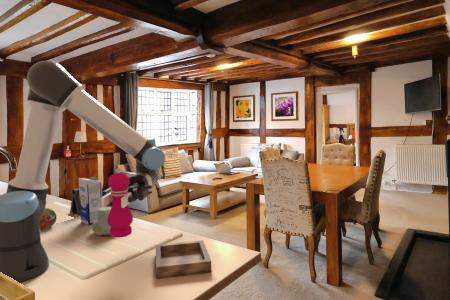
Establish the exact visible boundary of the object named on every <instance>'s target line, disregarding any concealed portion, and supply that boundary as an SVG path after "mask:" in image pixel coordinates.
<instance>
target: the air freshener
mask: <svg viewBox="0 0 450 300" xmlns="http://www.w3.org/2000/svg"><path fill="white" fill-rule="evenodd" d="M111 208H112V206H105V207H102V208H99V209H98V219H97V220H96V221H94V222H93V224H92V225H91V231H92V232H93V233H94V234H96V235H99V236H101V235H102V236H103V235H104V236H110V228H111V227H110V226H109V224H108V222H107V221H108V215H109V213H110V210H111ZM102 236H101V237H102ZM104 236H103V237H104Z"/></svg>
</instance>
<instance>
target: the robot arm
mask: <svg viewBox="0 0 450 300" xmlns="http://www.w3.org/2000/svg"><path fill="white" fill-rule="evenodd" d="M26 79H27V80H26V81H27V85H28V87H29V90H28V94H27V99H26V102H27V103H28V104H29V105H30V111H29V115H28V120H27V124H26V129H25V132H24V137H23V142H22V147H21V150H20V154H19V155H20V156H19V159H18V163H17V169H16V173H15V177H14V178H13V179H11V180H10V181H8V184H7V188H6V192H5V193H3V194H0V272H2V273H3V274H5V275H7V276H9V277H11V278H13V279H14V280H16V281H18V282H17V283H20V282H21V283H22V282H25V281H27V280H28V281H29V280H31V279H33V278H36V277H38V276H39V275H42V274H43V273H45V271H47V270H48V269H49V266H50V263H49V262H50V259H49V257H48V254H47V252H46V249H45V248H44V246H43V244H42V241H41V230H40V225H39V219H40V217H41V215H42V213H43V211H44V209H45V208H47V207H46V205H47V196H48V191H49V185H48V184H47V183H46V177H47V172H48V168H49V163H50V159H51V155H52V151H53V147H54V141H55V138H56V132H57V128H58V124H59V119H60V115H61V113H62V112H64V111H66V110H68V112H71V113H72V114H73V115H75V116H76V117H78V118H79V119H80V120H81V121H83V122H84V123H86V124H87V125H89V126H90V127H91V128H93V129H94V130H95V131H96V132H98V133H99V134H100V135H102V136H104V138H106V139H107V140H109V141H110V142H112V143H113V144H115V145H116V146H117V147H119V148H120V149H121V150H123V151H124V152H125V153H127V154H128V155H130V156H131V157H132V158H133V159H135V174H132V176H130V177H129V181H130V183H129V186H128V187H127V189H128V194H126V195H125V196H124V197H122V198H121V208H124V207H126V206H127V205H128V206H129V205H130V204H131V203H134V202H137V200H138V201H143V200H145V199H146V197H148V196H149V195H151V194H152V193H153V188H154V186H156V184H157V183H158V182H159V180H160V179H159V178H160V175H159V172H158V171H157V170H159V169H160V168H162V167H163V166H164V164H165V162H166V155H165V153H164V152H163V150H162V149H161V148H159V147H157V145H156V139H155V138H153V137H152V138H151V137H150V138H149V137H144V136H143V135H141V134H140V133H139V132H138V131H137V130H135V129H134V128H133V127H132V126H130V125H129V124H127V123H126V122H125V121H124V120H123V119H121V117H118V115H116V114H115V113H113V112H112V111H111V110H109V109H108V108H107V107H106V106H104V105H103V104H102V103H101V102H99V101H98V100H97V99H96V98H94V97H93V96H91V94H89V93H88V92H86V91H85V90H84V89H83V85H82V84H81V83H80V82H79V81H78V80H76V79H75V78H74V77H73V76H72V75H71V74H70V73H69V72H68V71H67V69H66V68H65V67H63V66H62V65H61V64H60V63H58V62H55V61H51V60H40V61H38V62H36V63H34V64H33V65H31V67H30V68H29V69H28V71H27V75H26ZM110 190H112V189H111V188H110V187H108V188H106V189H105V190H102V198H101V207H108V206H109V205H110V204H111V203H113V199H112V195H110V194H111V192H110Z"/></svg>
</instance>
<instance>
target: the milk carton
mask: <svg viewBox="0 0 450 300" xmlns="http://www.w3.org/2000/svg"><path fill="white" fill-rule="evenodd" d="M102 185H103V184H102V181H101V180H98V178H97V177H94V176H91V177H90V178H86V177H85V178H84V177H82V178H80V177H78V188H79V194H80V210H81V215H80V222H81V224H84V225H86V226H88V227H89V226H92V224H93V222H94V221H96V220H97V219H98V209H99V208H102V207H101V198H102V197H103V196H102V192H103V190H102V189H103V187H102Z"/></svg>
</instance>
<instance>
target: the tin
mask: <svg viewBox="0 0 450 300" xmlns="http://www.w3.org/2000/svg"><path fill="white" fill-rule="evenodd" d="M57 218H58V217H57V214H56V212H55V211H54V210H53V209H51V208H49V207H48V208H47V207H45V209H44V211H43V213H42V215H41V217H40V219H39V225H40V231H41V230H45V229H46V230H47V229H49V228H51V227H52V226H54V224H55V223H56V221H57Z"/></svg>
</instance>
